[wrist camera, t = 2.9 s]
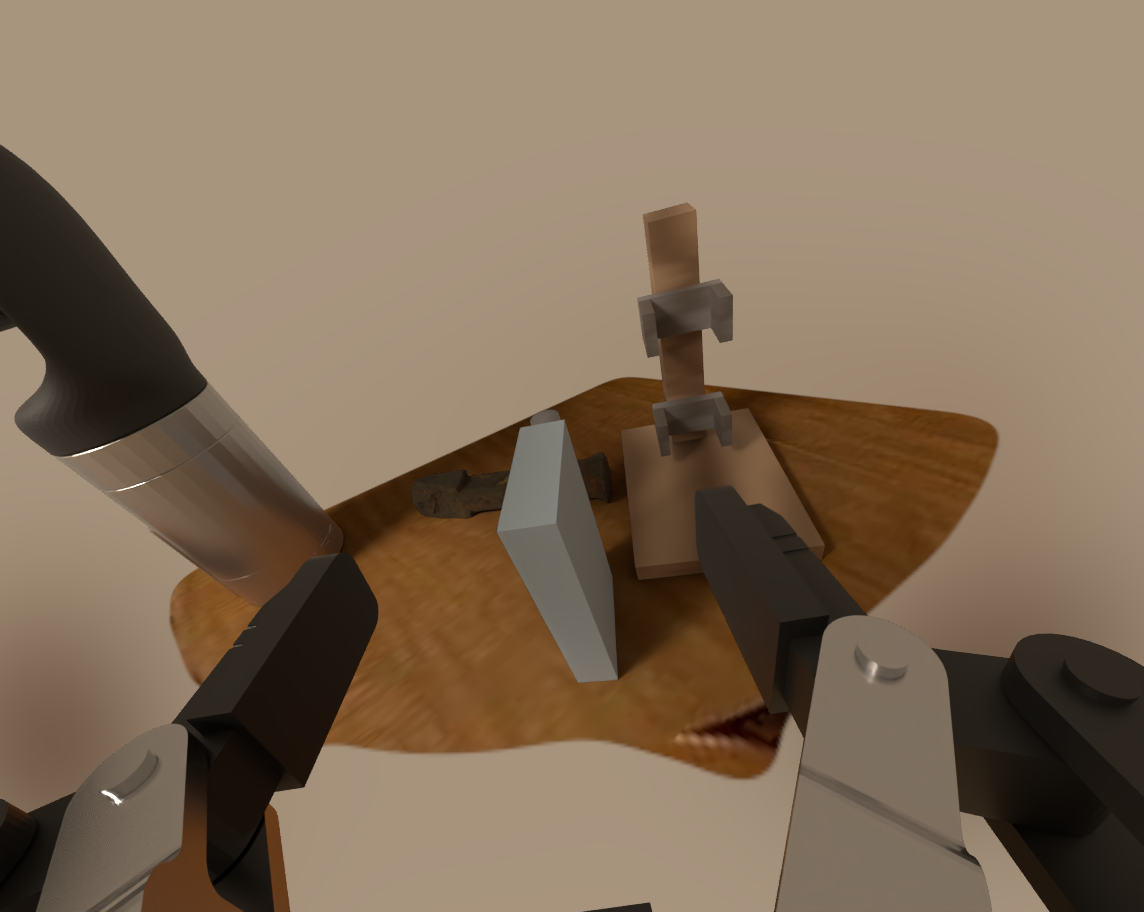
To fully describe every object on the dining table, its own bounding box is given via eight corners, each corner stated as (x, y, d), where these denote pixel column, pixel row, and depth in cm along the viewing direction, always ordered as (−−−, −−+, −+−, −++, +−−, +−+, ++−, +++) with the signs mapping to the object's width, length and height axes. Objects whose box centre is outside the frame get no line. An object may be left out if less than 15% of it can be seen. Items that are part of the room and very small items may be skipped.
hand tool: (614, 477, 38) (605, 437, 35) (613, 509, 35) (603, 468, 32) (434, 497, 42) (412, 463, 39) (418, 527, 39) (394, 492, 36)
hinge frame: (638, 580, 29) (572, 309, 17) (623, 442, 41) (579, 230, 29) (821, 559, 27) (895, 234, 15) (747, 420, 39) (755, 183, 27)
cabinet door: (578, 682, 24) (496, 531, 16) (580, 562, 31) (523, 410, 22) (618, 679, 24) (556, 523, 15) (611, 558, 31) (565, 402, 22)
